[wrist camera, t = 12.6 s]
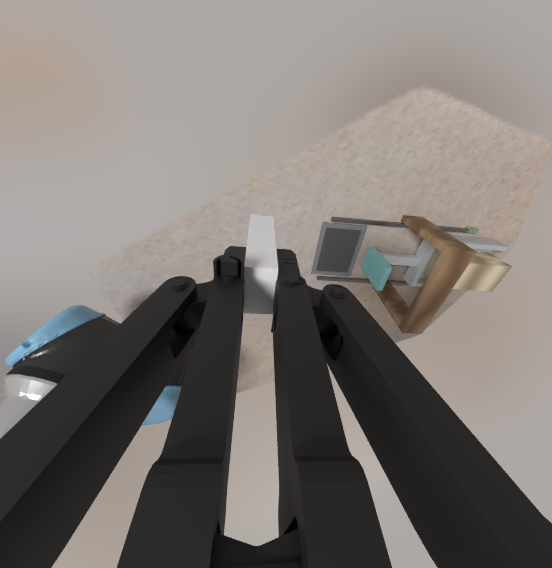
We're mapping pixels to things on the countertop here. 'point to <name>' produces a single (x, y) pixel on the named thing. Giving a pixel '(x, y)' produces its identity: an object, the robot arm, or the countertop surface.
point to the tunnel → (428, 278)
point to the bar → (477, 271)
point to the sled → (415, 261)
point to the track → (373, 222)
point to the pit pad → (337, 248)
